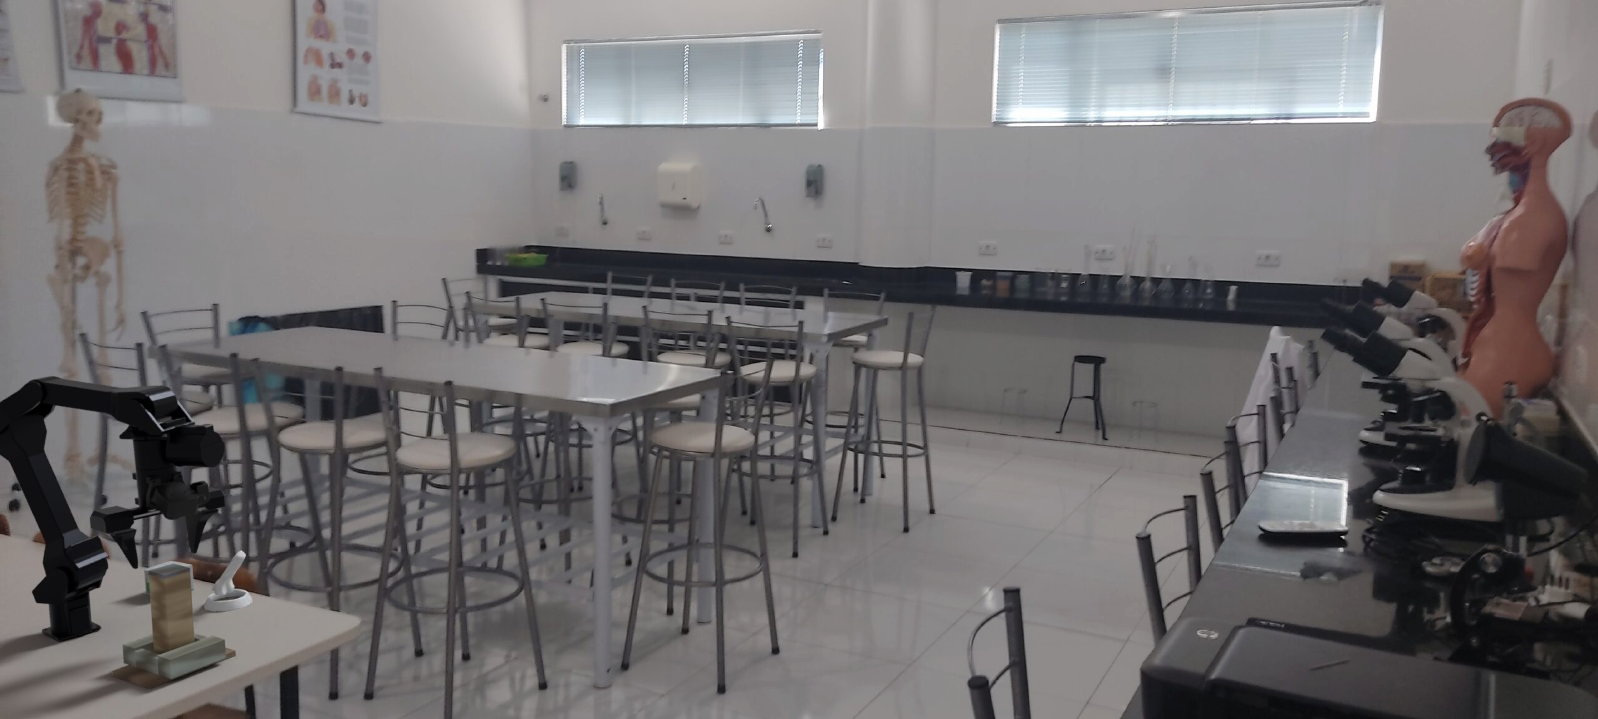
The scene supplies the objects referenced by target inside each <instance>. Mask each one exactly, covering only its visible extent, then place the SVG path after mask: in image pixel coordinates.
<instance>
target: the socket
mask: <svg viewBox="0 0 1598 719" xmlns="http://www.w3.org/2000/svg"><path fill="white" fill-rule="evenodd" d="M194 639H195V642H194V643H191V644H188V645H185V646H183V647H180V648H177V649H174V650H172V651H169V652H166V653H163V654H161V655H160V654H157V653H154V644H153V633H152V634H148V635H146V636H142V637H141V638H136V639H134V640H132V641H127V642H126V643H123V644H122V656H123V658H122V659H123V664H126V665H125V666H122V667H119V668H116V669H114V670H112V671H111V672H112V674H111V675H112V677H115V678H117V679H120V680H123V681H126V682H129V683H131V684H134V685H138V686H140V687H143V688H146V689H149V690H150V689H153V688H155V687H158V686H160V685H164V684H165V683H168V682H171V681H173V680H174V681H175V680H176V679H179V678H181V677H184V676H186V675H189V674H192V673H194V672H197V671H199V670H201V669H202V670H203V669H205V668H207V667H210V666H212V665H215V664H217V663H220V662H222V661H223V662H224V661H226V660H227V659H230V658H233V657H236V656H237V653H236V652H237V651H236V650H235V649H232V648H229V647H226V640H225V638H221V637H219V636H214V635H211V636H208V637H207V636H205V635H201V634H198V633H196V632H194Z"/></svg>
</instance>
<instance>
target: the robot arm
mask: <svg viewBox="0 0 1598 719" xmlns="http://www.w3.org/2000/svg"><path fill="white" fill-rule="evenodd" d="M56 407H62V408H63V407H64V408H70V409H76V410H82V411H86V412H87V411H88V412H94V413H95V412H96V413H101V414H105V415H108V416H111V417H112V418H114V419H115V421H117V422H119V423H122V424H125V425H128V426H127V427H126V429H125V430H124V431H123V432H121V434H119V435H118V438H119V439H120V440H132V445H133V456H134V458H133V459H134V467H135V471H134V472H132V473H131V475H132V480H134V481H136V488H137V497H134V503H135V505H137V506H139V507H134V508H125V507H123V506H119V505H113V506H109V507H105V508H100V509H94V510H93V511H92V513H91V515H90V516H89V523H90V529H91V530H95V531H98V532H101V533H103V534H106V535H109V536H111V538H112V539H113V540H114V542H115V543H116V545H117V546H118V547H119V549H120V550H121V552H122V554H123V555H124V557H125V558H126V560H127V562H129V565H130V566H131V567H132V569H134V570H136V569H137V570H138V569H139V558H138V551H137V544H136V539H135V537H136V535H137V532H138V531H137V528H133V527H132V526H133V525H134V524H135V521H138V520H141V519H146V518H150V517H155V516H160V515H163V517H164V518H165V519H166V520H169V521H176V520H178V519H180V518H183V517H185V518H184V519H185V524H186V533H187V541H188V542H187V543H188V545H189V546H188V547H189V549H190V554H193V555H194V554H197V553H198V550H199V546H200V543H201V539H202V536H203V533H204V531H205V528H206V525H207V523H208V521H209V519H211V517H212V516H213V515H216V514H218V513H219V511H220V509H221V508H224V507H227V497H226V494H225V492H224V491H223V490H222V489H219V488H216V487H212V486H209V484H208V483H207V482H206V481H205V480H200V481H196V482H195V481H194V482H192V483H187V484H186V483H185V481H184V479H183V478H184V477H183V474H182V470H178V468H216V467H217V466H218V465H219V464H220V463H221V462H222V460H223V458H224V454H225V442H224V441H223V438H222V437H221V435H220V434H219V433H218V432H216V431H215V430H214V424H213V423H204V424H196V422H195V420H194V419H193V418H192V417H191V415H190V414H189V412H187V410H186V409H185V407H184V406H183V405H182V403H181V402H180V401H179V400H178V399H177V396H176V394H175V393H174V391H173V389H172V388H170V387H169V386H166V385H144V386H143V385H142V386H130V387H118V386H111V385H106V384H105V385H104V384H98V383H91V382H85V381H80V380H79V381H78V380H73V379H72V380H71V379H65V378H61V377H59V376H54V375H49V376H43V377H38V378H34V379H31V380H29V381H28V382H26V383H25V384H24V385H23V386H22V387H21V388H19V389H18V390H17V391H15V392H14V393H12V394H11V395H9V396H7V397H5V398H4V399H2V400H1V401H0V457H2V458H4V459H5V460H7V462H8V463H9V464H10V466H11V469H12V470H13V473H14V476H15V477H16V480H17V482H18V485H19V487H20V489H21V490H22V494H23V496H24V498H25V500H26V503H27V504H28V506H29V509H30V511H31V514H32V516H33V518H34V520H35V523H36V524H37V527H38V529H39V531H40V534H41V536H42V539H43V540H44V544H45V545H44V551H43V557H42V566H43V569H44V573H45V576H44V577H43V579H41V581H40V582H39V583H38V584H37V585H36V586H34V588H33V589H32V590H31V595H32V596H33V599H34V602H35V603H36V604H42V605H48V611H49V612H48V614H49V625H50V627H46V628H42V629H41V633H42V634H44V635H46V636H49V637H50V638H51V639H55V640H56V641H59V642H60V641H64V640H68V639H72V638H74V637H78V636H82V635H85V634H88V633H92V632H96V631H99V630H101V629H102V626H101V624H98V623H95V622H94V621H92V609H91V596H90V592H92V591H94V590H97V589H100V588H101V586H102V583H103V579H104V577H105V576H106V574H107V570H109V562H108V559H107V558H109V557H110V555H109V554H108V553H107V552H106V551H105V550H106V549H104V546H103V543H102V539H101V538H100V536H99V535H93V536H91V537H90V536H89V535H87V534H85V533H84V532H83V531H81V530H80V528H79V526H78V524H77V521H76V519H75V517H74V514H73V512H72V509H71V508H70V506H69V503H68V500H67V499H66V496H65V494H64V492H63V490H62V487H61V485H60V482H59V481H58V478H57V477H56V474H55V472H54V469H53V467H52V464H51V462H50V460H49V459H48V456H47V454H46V452H45V445H46V440H47V434H48V429H47V425H46V422H45V420H46V418H48V417H49V416H50V415H51V414H52V413H53V412H54V410H55V408H56Z"/></svg>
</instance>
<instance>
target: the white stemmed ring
mask: <svg viewBox="0 0 1598 719" xmlns="http://www.w3.org/2000/svg"><path fill="white" fill-rule="evenodd" d="M246 555H247V554H246V553H245V552H244V551H243V550H239V551H238V552H237V553H236V554H235V555H234V556H233V558H232V559H231V561H230V562H229V564H228V565H227V566H226V568H225V570H224V572H223V573H222V574H221V576H220V578H219V579H217V580H216V581H215V583H214V585H212V588H211V590H212V592H213V593H211V594H210V595H208V596H207V598H206V600H205V603H204V605H203V608H204V610H206V611H208V610H211V611H210V612H216V611H219V612H220V611H222V612H230V610H231V611H235V610H240V609H243V608H245V607H247V605H248V606H250V603H251V604H252V603H253V598H252V596H251V595H250V592H248V591H247V590H245V589H241V588H235V585H234V583H233V578H234V576H235V574H236V573H237V571H238V570H239V568H240V567H241V566H242V564H243V562H244V561H245V558H246ZM225 597H228V598H235V599H229V600H221V598H222V599H226V598H225ZM237 597H238V598H237ZM217 599H218V600H217ZM214 600H215V601H214ZM219 612H218V613H219Z"/></svg>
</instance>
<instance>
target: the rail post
mask: <svg viewBox="0 0 1598 719" xmlns="http://www.w3.org/2000/svg"><path fill="white" fill-rule="evenodd" d="M148 573H149V587H150V595H149V598H150V599H149V600H150V613H151V615H150V616H151V628H152V634H153V644H154V653H157V654H160V655H161V654H163V653H166V652H169V651H172V650H174V649H177V648H180V647H183V646H185V645H188V644H191V643H194V642H195V639H194V633H195V624H194V611H193V596H192V590H191V577H190V568H189V567H185V566H182V565H178V564H174V563H173V564H170V565H166V566H163V567H159V568H156V569H153V570H149V571H148Z"/></svg>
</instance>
